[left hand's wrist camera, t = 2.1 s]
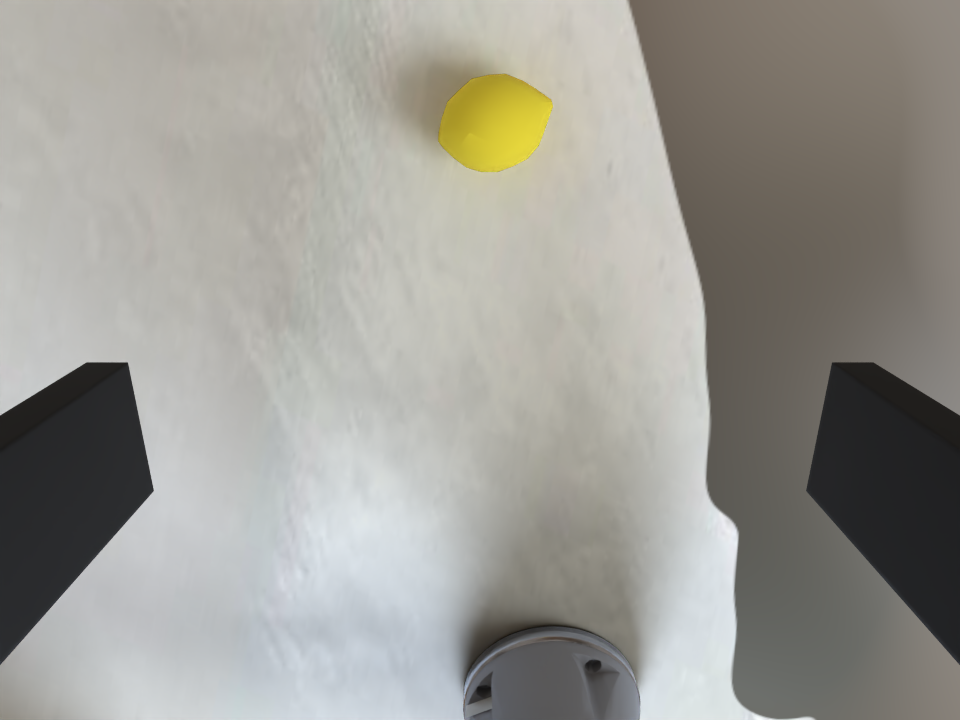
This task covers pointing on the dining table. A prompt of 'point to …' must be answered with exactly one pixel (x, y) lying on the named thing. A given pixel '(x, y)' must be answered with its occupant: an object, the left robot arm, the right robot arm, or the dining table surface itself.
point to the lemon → (494, 122)
